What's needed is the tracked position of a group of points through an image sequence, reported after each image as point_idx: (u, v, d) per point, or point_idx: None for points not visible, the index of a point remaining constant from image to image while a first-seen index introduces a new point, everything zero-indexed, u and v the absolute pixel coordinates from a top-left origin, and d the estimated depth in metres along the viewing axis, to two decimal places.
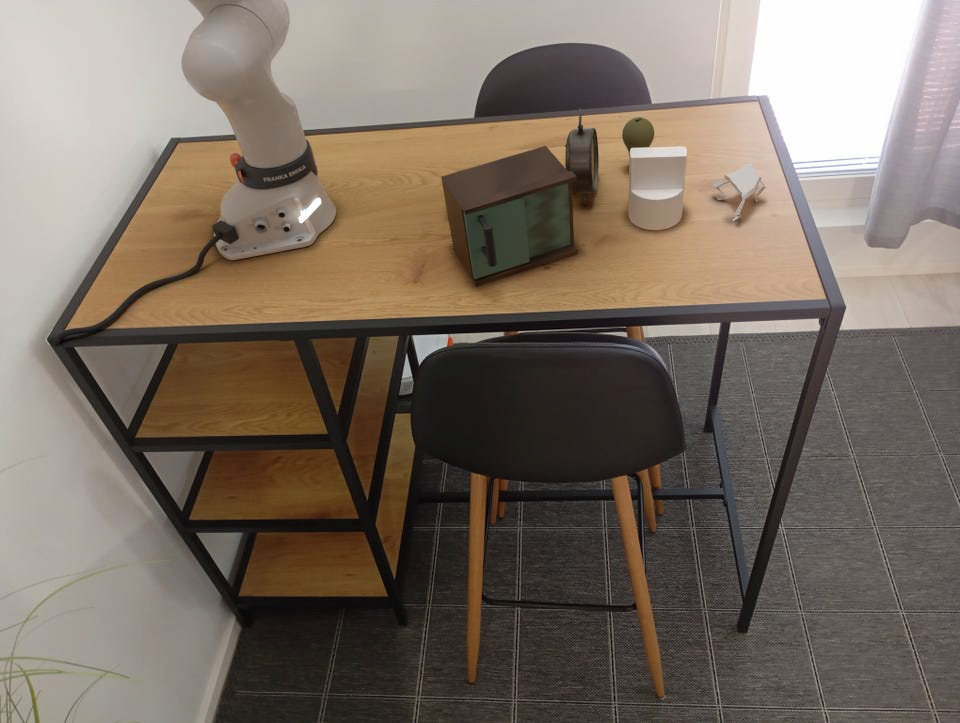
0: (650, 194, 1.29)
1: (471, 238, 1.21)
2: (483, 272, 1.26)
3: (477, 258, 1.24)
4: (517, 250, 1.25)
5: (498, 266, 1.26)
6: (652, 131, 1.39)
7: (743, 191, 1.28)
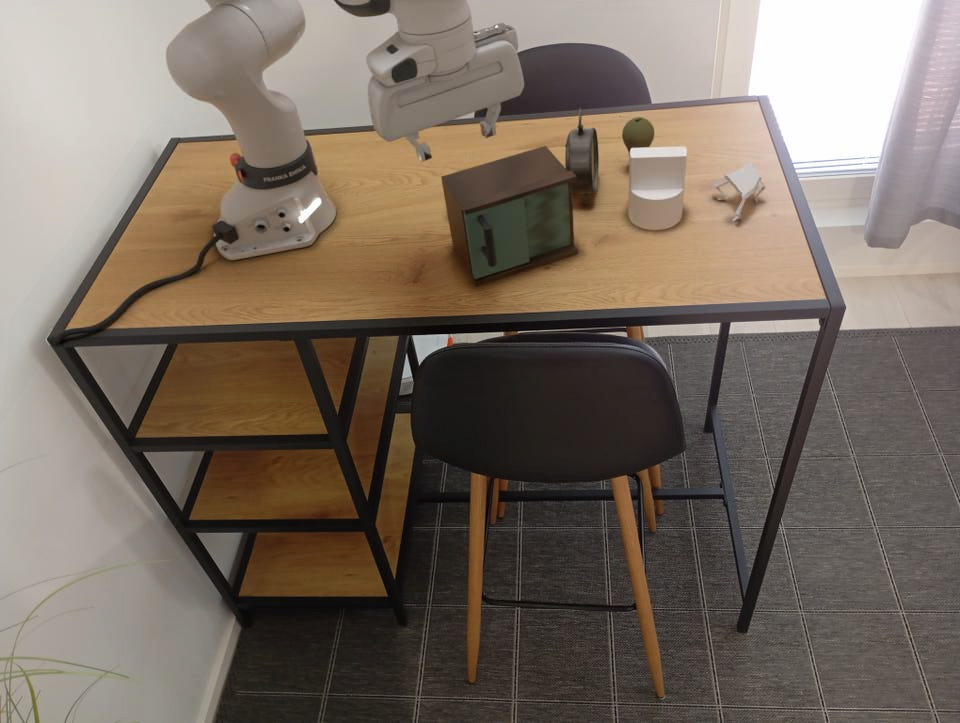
0: (650, 194, 1.29)
1: (471, 238, 1.21)
2: (483, 272, 1.26)
3: (477, 258, 1.24)
4: (517, 250, 1.25)
5: (498, 266, 1.26)
6: (652, 131, 1.39)
7: (743, 191, 1.28)
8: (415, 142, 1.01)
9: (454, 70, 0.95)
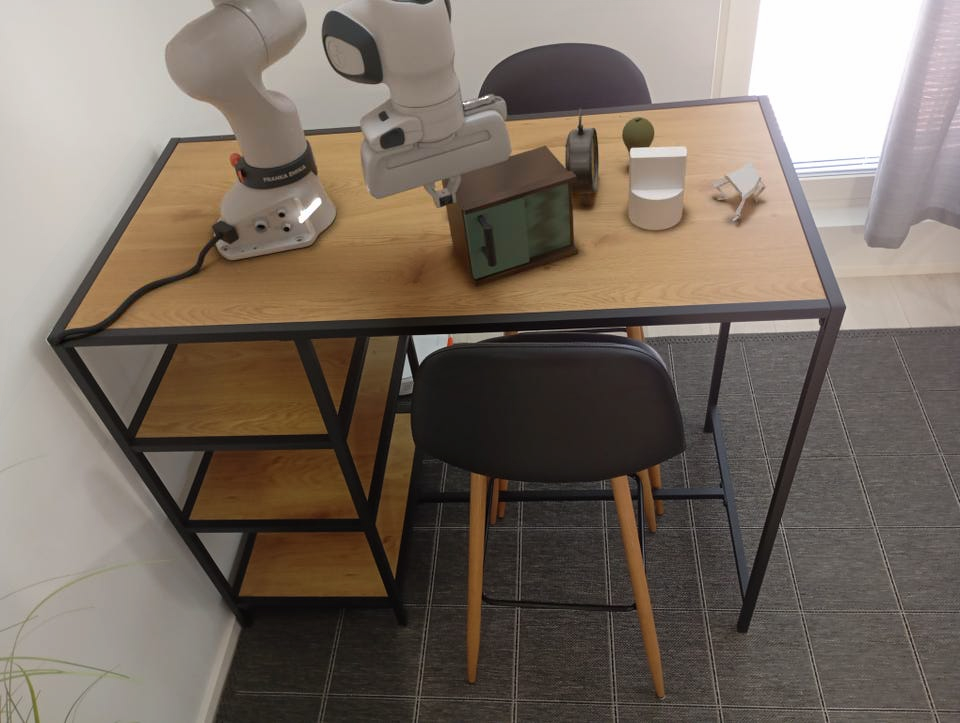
0: (650, 194, 1.29)
1: (471, 238, 1.21)
2: (483, 272, 1.26)
3: (477, 258, 1.24)
4: (517, 250, 1.25)
5: (498, 266, 1.26)
6: (652, 131, 1.39)
7: (743, 191, 1.28)
8: (431, 191, 1.07)
9: (441, 138, 1.00)
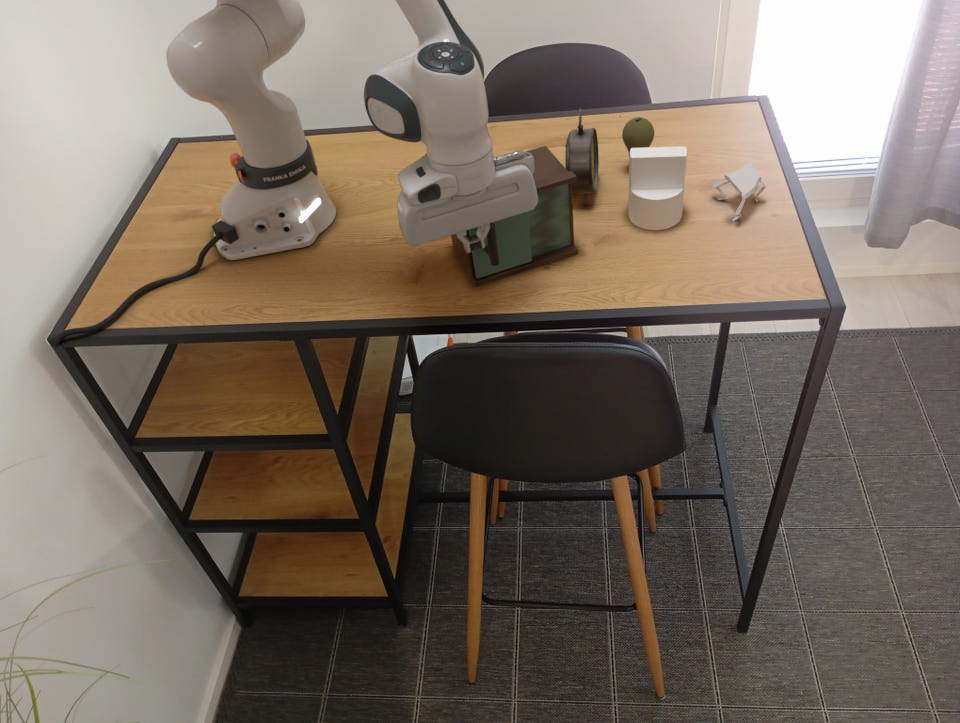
0: (650, 194, 1.29)
1: None
2: (486, 271, 1.26)
3: (480, 257, 1.24)
4: (520, 249, 1.25)
5: (501, 265, 1.26)
6: (652, 131, 1.39)
7: (743, 191, 1.28)
8: (463, 238, 1.14)
9: (474, 192, 1.07)
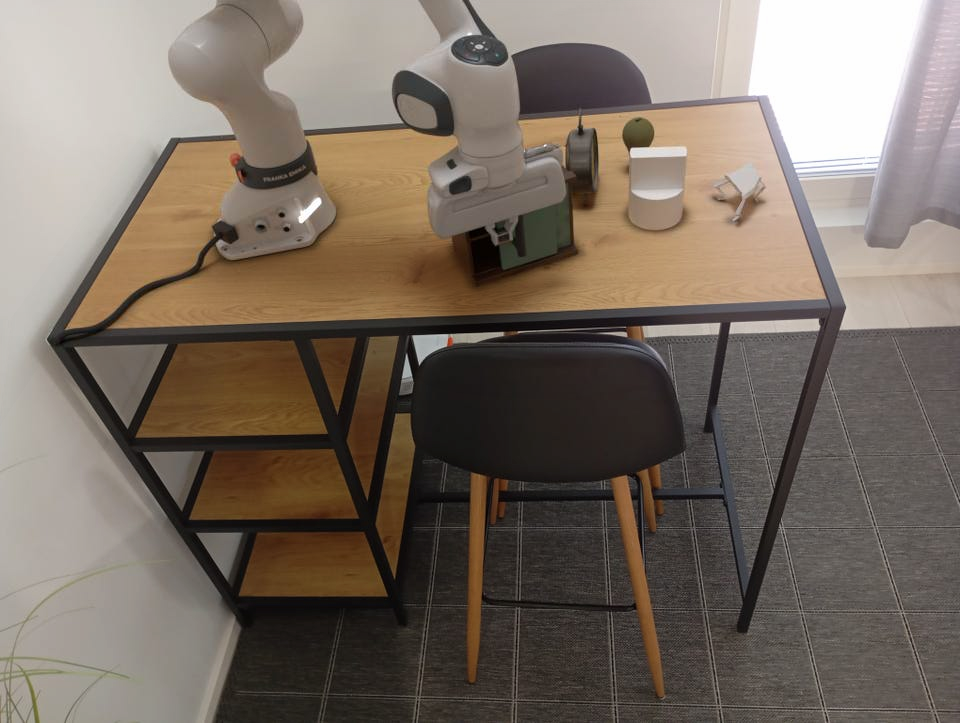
0: (650, 194, 1.29)
1: None
2: (512, 263, 1.27)
3: (506, 249, 1.24)
4: (546, 241, 1.26)
5: (526, 257, 1.27)
6: (652, 131, 1.39)
7: (743, 191, 1.28)
8: (491, 230, 1.15)
9: (504, 184, 1.08)
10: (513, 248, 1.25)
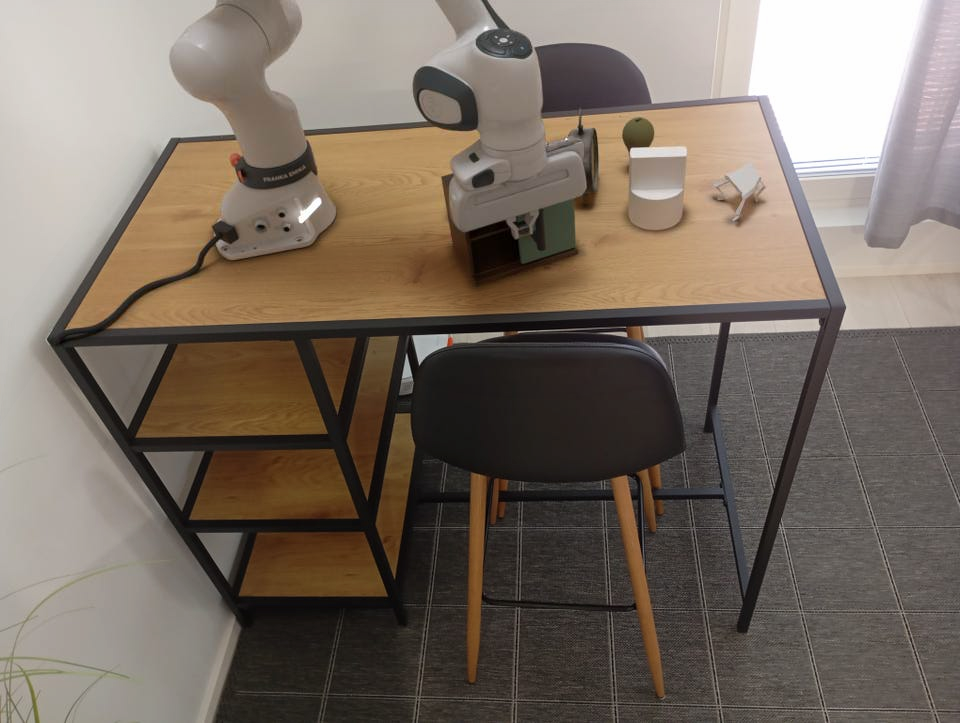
0: (650, 194, 1.29)
1: None
2: (530, 257, 1.27)
3: (525, 243, 1.25)
4: (565, 235, 1.27)
5: (545, 251, 1.28)
6: (652, 131, 1.39)
7: (743, 191, 1.28)
8: (512, 224, 1.16)
9: None
10: (532, 242, 1.25)
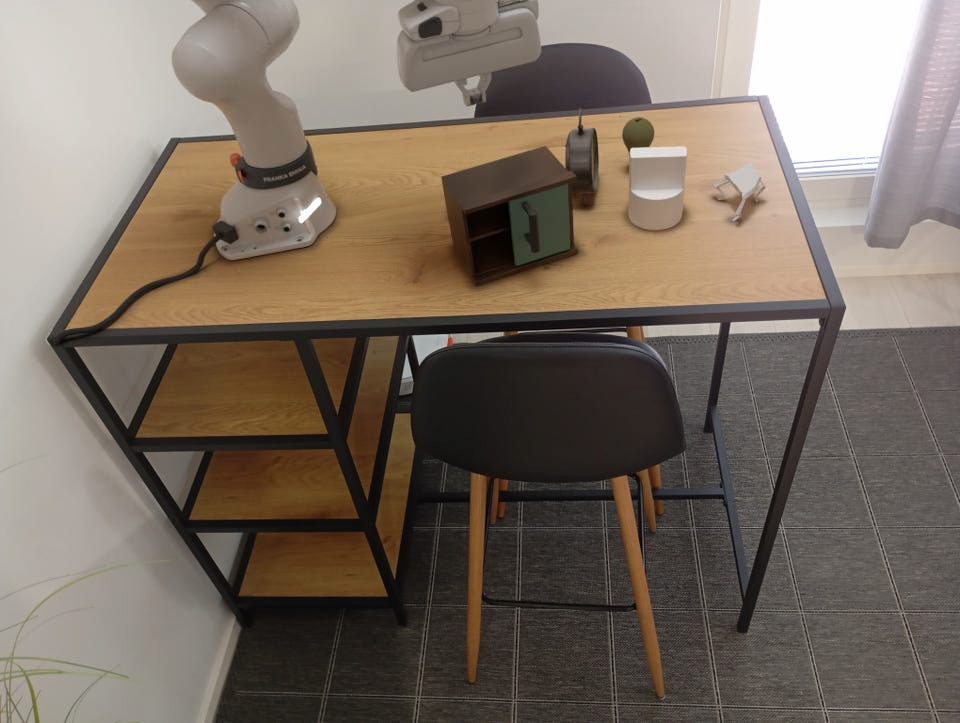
0: (650, 194, 1.29)
1: (515, 224, 1.22)
2: (525, 259, 1.27)
3: (519, 245, 1.25)
4: (559, 236, 1.27)
5: (540, 253, 1.27)
6: (652, 131, 1.39)
7: (743, 191, 1.28)
8: (463, 88, 1.11)
9: (476, 31, 1.04)
10: (526, 244, 1.25)
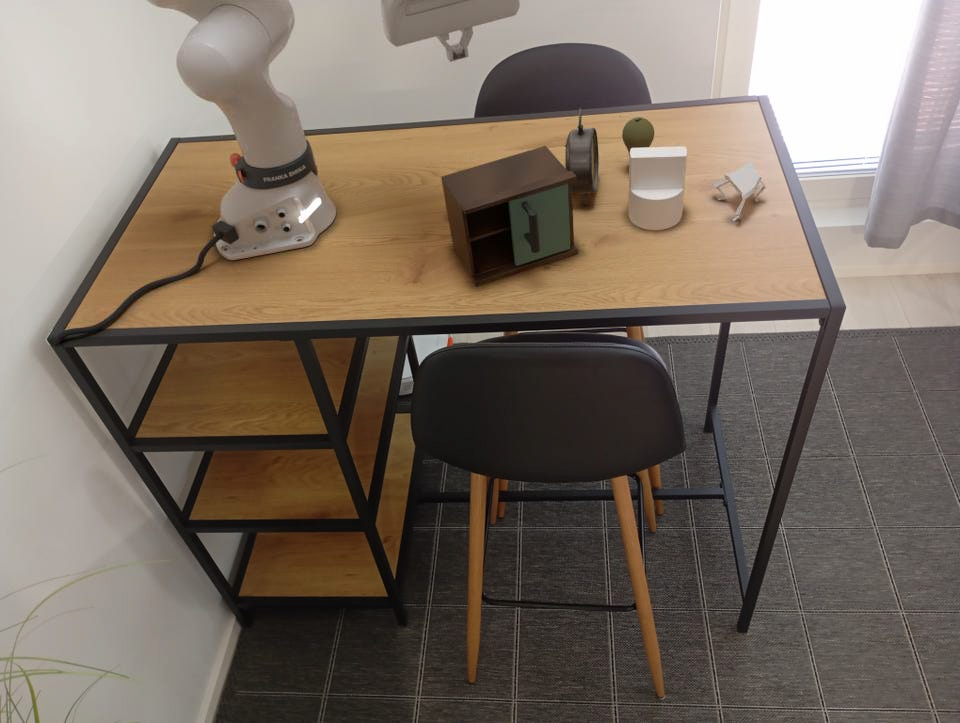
0: (650, 194, 1.29)
1: (515, 224, 1.22)
2: (525, 259, 1.27)
3: (519, 245, 1.25)
4: (559, 236, 1.27)
5: (540, 253, 1.27)
6: (652, 131, 1.39)
7: (743, 191, 1.28)
8: (445, 42, 1.16)
9: None
10: (526, 244, 1.25)
